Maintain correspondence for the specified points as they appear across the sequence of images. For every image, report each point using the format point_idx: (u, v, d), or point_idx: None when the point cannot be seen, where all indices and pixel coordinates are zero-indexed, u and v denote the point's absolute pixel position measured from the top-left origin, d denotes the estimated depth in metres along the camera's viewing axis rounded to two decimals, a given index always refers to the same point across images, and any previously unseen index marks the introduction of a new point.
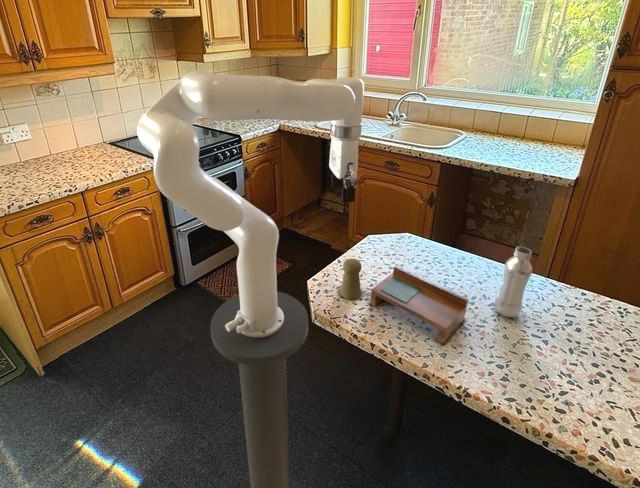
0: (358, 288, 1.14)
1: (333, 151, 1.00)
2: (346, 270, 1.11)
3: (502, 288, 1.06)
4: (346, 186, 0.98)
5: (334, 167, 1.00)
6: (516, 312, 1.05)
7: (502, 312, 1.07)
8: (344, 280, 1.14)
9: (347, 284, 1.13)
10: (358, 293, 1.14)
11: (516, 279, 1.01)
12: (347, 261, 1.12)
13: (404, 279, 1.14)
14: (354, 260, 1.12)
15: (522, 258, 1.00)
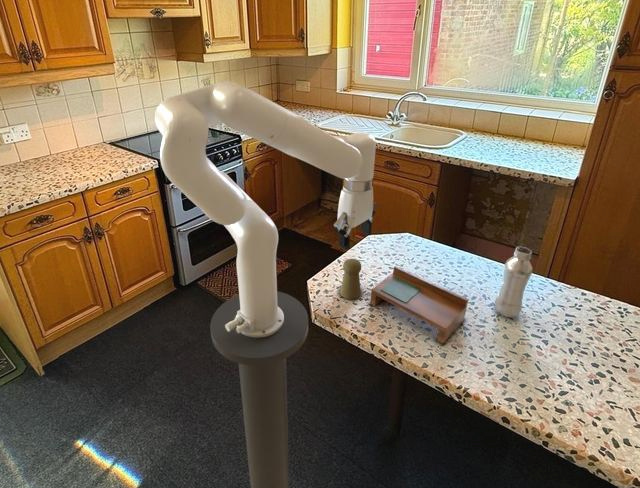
0: (358, 288, 1.14)
1: None
2: (346, 270, 1.11)
3: (502, 288, 1.06)
4: None
5: None
6: (516, 312, 1.05)
7: (502, 311, 1.07)
8: (344, 280, 1.14)
9: (347, 284, 1.13)
10: (358, 293, 1.14)
11: (516, 279, 1.01)
12: (347, 261, 1.12)
13: (404, 279, 1.14)
14: (354, 260, 1.12)
15: (522, 258, 1.00)
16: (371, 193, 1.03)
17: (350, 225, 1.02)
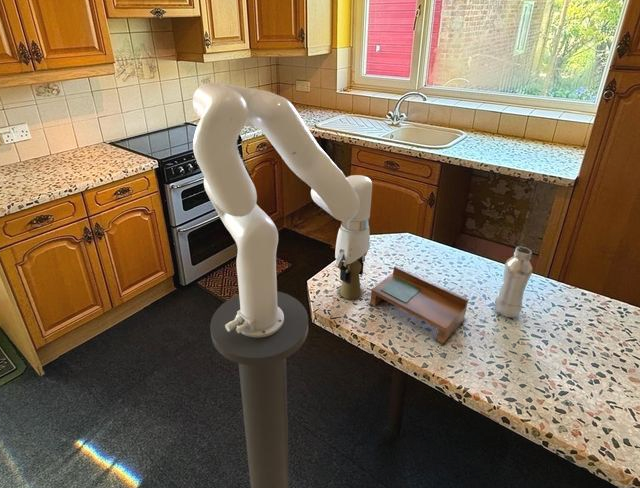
0: (358, 288, 1.14)
1: None
2: None
3: (502, 288, 1.06)
4: None
5: None
6: (516, 312, 1.05)
7: (502, 311, 1.07)
8: None
9: (347, 285, 1.13)
10: (358, 293, 1.14)
11: (516, 279, 1.01)
12: None
13: (404, 279, 1.14)
14: None
15: (522, 258, 1.00)
16: (367, 230, 1.08)
17: (347, 261, 1.06)
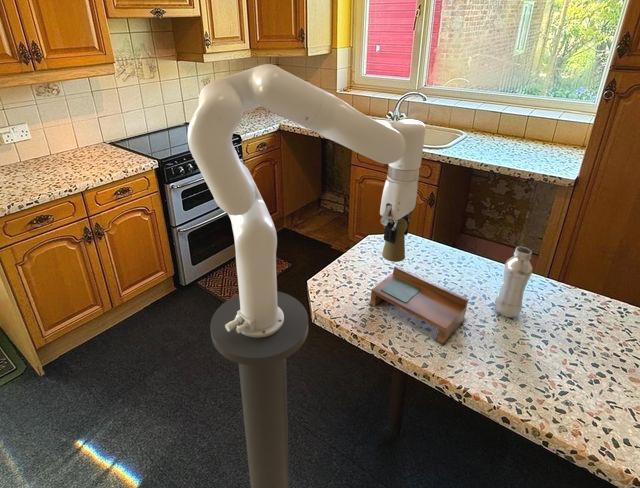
0: (403, 249, 1.04)
1: None
2: None
3: (502, 288, 1.06)
4: (385, 225, 1.00)
5: None
6: (516, 312, 1.05)
7: (502, 311, 1.07)
8: None
9: (391, 245, 1.03)
10: (403, 255, 1.04)
11: (516, 279, 1.01)
12: None
13: (404, 279, 1.14)
14: None
15: (522, 258, 1.00)
16: (416, 184, 0.98)
17: (394, 217, 0.96)
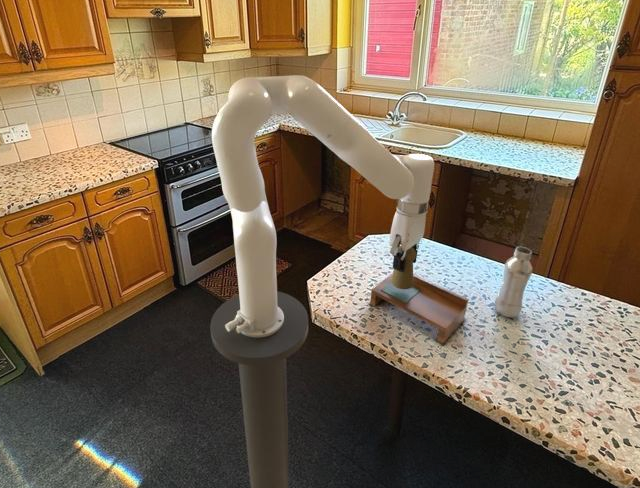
0: (412, 277, 1.06)
1: None
2: None
3: (502, 288, 1.06)
4: None
5: None
6: (516, 312, 1.05)
7: (502, 311, 1.07)
8: None
9: (400, 273, 1.05)
10: (411, 283, 1.07)
11: (516, 279, 1.01)
12: None
13: None
14: None
15: (522, 258, 1.00)
16: (425, 215, 1.00)
17: (404, 248, 0.99)
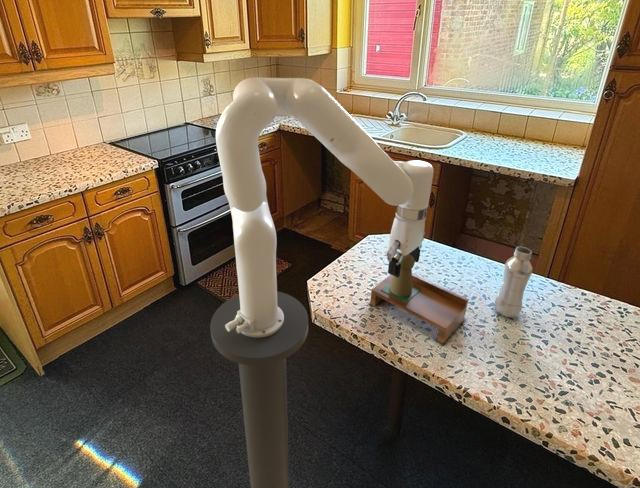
0: (410, 284, 1.07)
1: None
2: None
3: (502, 288, 1.06)
4: (389, 259, 1.01)
5: None
6: (516, 312, 1.05)
7: (502, 311, 1.07)
8: None
9: (399, 280, 1.06)
10: (410, 290, 1.08)
11: (516, 279, 1.01)
12: None
13: None
14: None
15: (522, 258, 1.00)
16: (424, 220, 1.01)
17: (403, 253, 0.99)
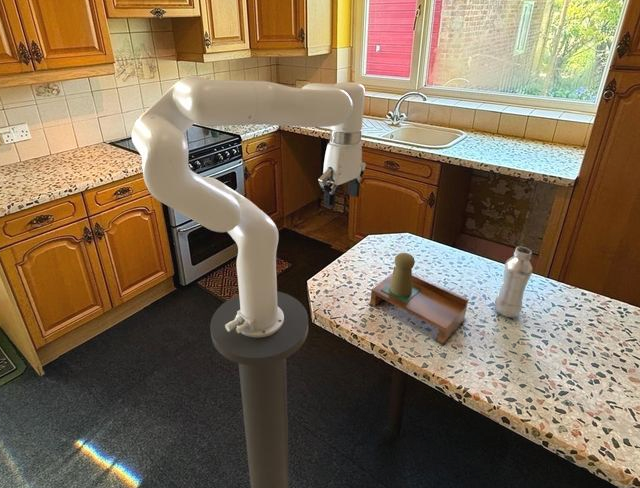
0: (410, 284, 1.07)
1: None
2: (399, 265, 1.04)
3: (502, 288, 1.06)
4: None
5: None
6: (516, 312, 1.05)
7: (502, 311, 1.07)
8: (395, 276, 1.07)
9: (399, 280, 1.06)
10: (410, 290, 1.08)
11: (516, 279, 1.01)
12: (399, 255, 1.05)
13: None
14: (407, 254, 1.06)
15: (522, 258, 1.00)
16: (359, 149, 0.98)
17: (336, 181, 0.96)
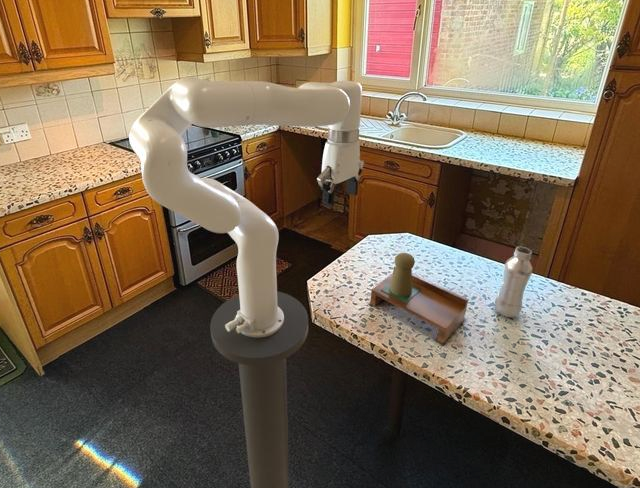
0: (410, 284, 1.07)
1: None
2: (399, 265, 1.04)
3: (502, 288, 1.06)
4: (322, 188, 0.98)
5: None
6: (516, 312, 1.05)
7: (502, 311, 1.07)
8: (395, 276, 1.07)
9: (399, 280, 1.06)
10: (410, 290, 1.08)
11: (516, 279, 1.01)
12: (399, 255, 1.05)
13: None
14: (407, 254, 1.06)
15: (522, 258, 1.00)
16: (357, 147, 0.98)
17: (334, 180, 0.96)
